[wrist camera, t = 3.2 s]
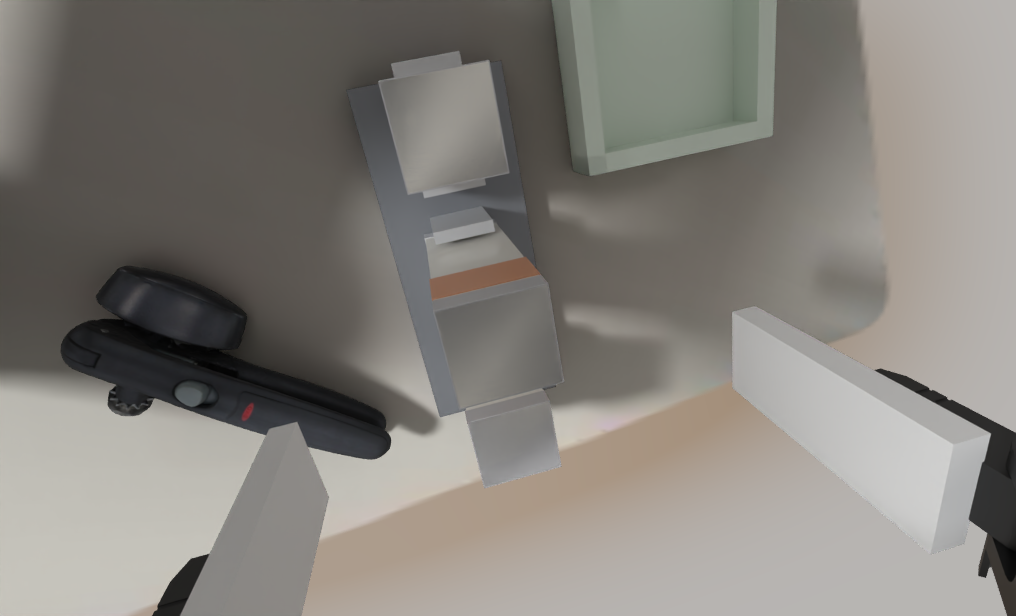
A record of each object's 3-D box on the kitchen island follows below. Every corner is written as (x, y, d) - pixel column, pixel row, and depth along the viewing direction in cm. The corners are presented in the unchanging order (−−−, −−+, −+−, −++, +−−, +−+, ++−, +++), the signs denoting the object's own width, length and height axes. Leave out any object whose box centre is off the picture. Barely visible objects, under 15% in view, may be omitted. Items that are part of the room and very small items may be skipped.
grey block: (467, 404, 32) (484, 488, 25) (453, 349, 30) (467, 422, 23) (527, 388, 32) (561, 466, 25) (516, 333, 31) (549, 400, 24)
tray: (573, 170, 29) (589, 176, 27) (545, -46, 25) (562, -66, 22) (740, 134, 31) (772, 136, 28) (741, -79, 26) (779, -102, 24)
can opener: (84, 342, 28) (11, 392, 23) (139, 243, 27) (74, 273, 22) (360, 463, 34) (352, 524, 29) (415, 388, 33) (416, 438, 28)
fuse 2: (440, 300, 29) (459, 409, 18) (424, 234, 28) (433, 310, 17) (506, 284, 30) (564, 382, 19) (494, 218, 28) (548, 283, 17)
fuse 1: (408, 173, 26) (407, 195, 19) (387, 92, 25) (377, 80, 17) (482, 158, 27) (509, 173, 19) (466, 76, 25) (489, 59, 18)
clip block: (440, 409, 34) (445, 461, 29) (347, 83, 26) (331, 74, 20) (551, 380, 34) (575, 425, 29) (495, 55, 26) (515, 40, 21)
